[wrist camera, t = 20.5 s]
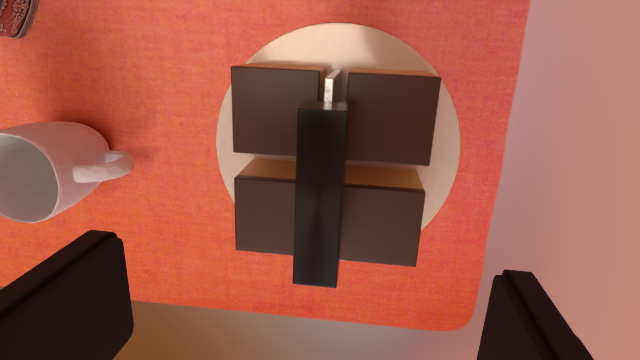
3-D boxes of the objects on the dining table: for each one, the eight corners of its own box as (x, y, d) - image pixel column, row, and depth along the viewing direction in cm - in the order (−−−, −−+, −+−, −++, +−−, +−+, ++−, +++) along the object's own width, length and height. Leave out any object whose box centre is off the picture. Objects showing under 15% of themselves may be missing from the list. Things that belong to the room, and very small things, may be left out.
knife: (321, 68, 24) (297, 81, 16) (356, 70, 23) (349, 84, 16) (314, 226, 27) (292, 303, 19) (344, 228, 27) (335, 307, 19)
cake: (252, 62, 24) (230, 66, 20) (429, 71, 23) (441, 77, 19) (253, 221, 27) (235, 250, 23) (409, 235, 26) (416, 267, 23)
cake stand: (345, -5, 39) (327, -41, 22) (454, 105, 41) (515, 150, 24) (247, 110, 43) (169, 155, 26) (349, 204, 45) (339, 300, 28)
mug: (57, 187, 49) (-18, 222, 39) (39, 112, 46) (-45, 130, 37) (158, 190, 48) (107, 227, 38) (147, 113, 45) (88, 132, 35)
